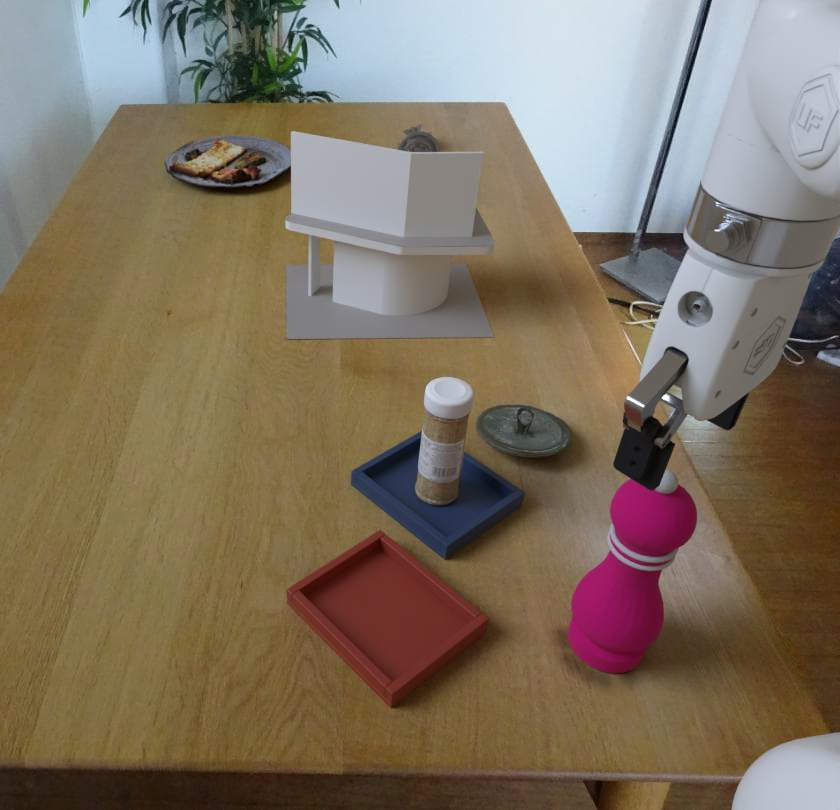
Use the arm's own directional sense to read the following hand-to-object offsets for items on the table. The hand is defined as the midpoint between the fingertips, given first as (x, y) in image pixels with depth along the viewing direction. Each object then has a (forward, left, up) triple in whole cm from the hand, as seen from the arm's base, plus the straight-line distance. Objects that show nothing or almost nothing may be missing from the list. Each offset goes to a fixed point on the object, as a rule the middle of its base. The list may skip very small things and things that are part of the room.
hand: (674, 447), depth 57 cm
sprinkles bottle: (+22, -2, -22) cm, 31 cm away
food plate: (+109, -37, -22) cm, 117 cm away
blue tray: (+22, -2, -22) cm, 31 cm away
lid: (+22, -16, -22) cm, 35 cm away
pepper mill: (0, 0, -22) cm, 22 cm away
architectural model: (+55, -26, -22) cm, 64 cm away
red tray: (+14, +13, -22) cm, 29 cm away
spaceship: (+85, -63, -22) cm, 108 cm away
